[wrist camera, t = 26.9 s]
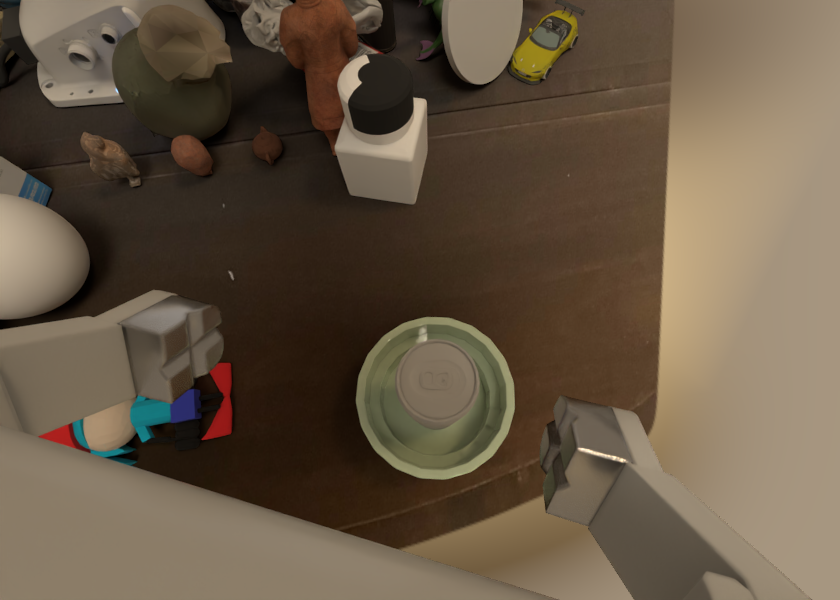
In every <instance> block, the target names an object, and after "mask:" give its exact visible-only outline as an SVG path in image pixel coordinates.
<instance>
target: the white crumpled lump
mask: <svg viewBox="0 0 840 600" xmlns="http://www.w3.org/2000/svg"><path fill="white" fill-rule="evenodd" d="M342 1H343V3H344V4H345V6H346V8H347V10H348V11H349V13H350V14H351V16H352V18H353V20H354V21H355V24H356V32H357V34H362V33H366V34H369V33H372V32H375V31H376V30H377V29H378V27H380V26H381V24H380V23H381V22H382V18H383V10H382V7H381V4H380V3H379V2H378V1H377V0H342ZM292 4H293V3H292V2H291V1H289V0H253V1H252V3H251V5H250V7H249V8H248V9H247V10H246V11H245V12H244V13H243V15H242V18H241V21H242V26H243V30H244V32H245V34H246V36H247V37H248V39H249V40H250V41H251V42H252V43H253V44H254V45H256V46H259V47H262V48H265V49H268V50H270V51H272V52H282V53H283V54H284V55H286V53H285V51H284V48H283V46H282V45H281V43H280V39H279V24H280V15H281V12H282V10H283V9H284V8H285V7H287V6H290V5H292Z"/></svg>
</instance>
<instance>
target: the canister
mask: <svg viewBox="0 0 840 600" xmlns="http://www.w3.org/2000/svg"><path fill="white" fill-rule="evenodd" d="M20 3H21V0H0V7H2V8H3V9H8V8H12V7H16V6H20Z"/></svg>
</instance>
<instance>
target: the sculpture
mask: <svg viewBox="0 0 840 600" xmlns="http://www.w3.org/2000/svg"><path fill="white" fill-rule="evenodd" d="M212 1H213V2H214V3H215V4H216V5H217V6H218V7H220V8H221V9H223V10H225V11H228V12H236V13H237V15H238V17H239V19H240V21H241V18H242V15H243V13H244V12H245V11H246V10H247V9H248V8H249V7H250V5H251V3H252V1H253V0H212ZM241 22H242V21H241Z"/></svg>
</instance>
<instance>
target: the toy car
mask: <svg viewBox="0 0 840 600" xmlns="http://www.w3.org/2000/svg"><path fill="white" fill-rule="evenodd" d="M555 3H558V4H560V5H562V6H565V8H566V7H567V8H569V9H571V10H572V11H575V12H577V13H579V14H581V16H583V14H584V12H585V11H584V10H582V9H580V8H578V7H576V6H574V5H572V4H570V3H568V2H566V1H563V0H556V2H555ZM554 11H555V10H554ZM571 14H572V12H571ZM571 14H570V13H568V12H565V9H564V11H561V10H557V11H555V12H553V13H551V14H548V15H546V16H544V17H542V18H541V20H540V21H539V23H538V25H537V26H536V28H535V29H534V30H533V29H532V28H530V29H529V32H530V35H529V36H528V37H527V39H526V40H525V41H524V42H523V43H522V45H521V46H519V47H518V48H517V49H516V50H515V51H514V52H513V54H512V56H511V59H510V61H511V65H510V64H509V67H508V68H509V73H510V74H511V75H513V76H514V77H516V78H517V79H519V80H521V81H523V82H525V83H528V84H530V85H535V84H538V83H540V82H541V80H540V79H541V78H542V79H546V78H547V77H548V75H549V73H550V71H551V68H552V65H553V64H554V63H555V61H556V60H557V59H558V58H559V56H560V55H561V54H562V53H563V52H564V51H566V50H567V49H568V48H573V47H574V45H575V44H576V41H577V39H578V29H577V19H576V18H575V17H574V16H573V15H571Z"/></svg>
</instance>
